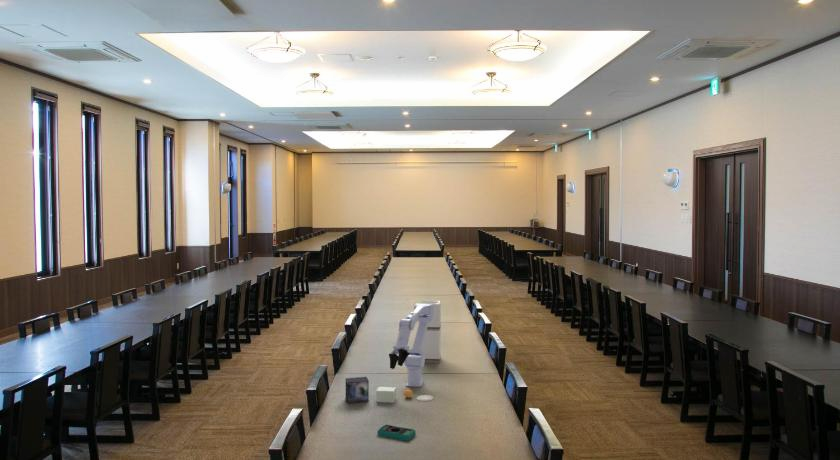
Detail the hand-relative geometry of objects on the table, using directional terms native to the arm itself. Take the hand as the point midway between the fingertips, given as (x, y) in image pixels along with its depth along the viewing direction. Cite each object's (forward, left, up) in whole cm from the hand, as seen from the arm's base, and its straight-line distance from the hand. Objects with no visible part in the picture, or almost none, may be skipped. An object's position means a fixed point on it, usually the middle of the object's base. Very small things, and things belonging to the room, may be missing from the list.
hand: (395, 366), depth 275 cm
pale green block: (+1, -5, -16) cm, 17 cm away
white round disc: (-4, +13, -16) cm, 21 cm away
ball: (-4, +5, -14) cm, 16 cm away
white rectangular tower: (-70, +8, -16) cm, 72 cm away
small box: (+3, -19, -16) cm, 25 cm away
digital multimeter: (+40, +8, -17) cm, 44 cm away
